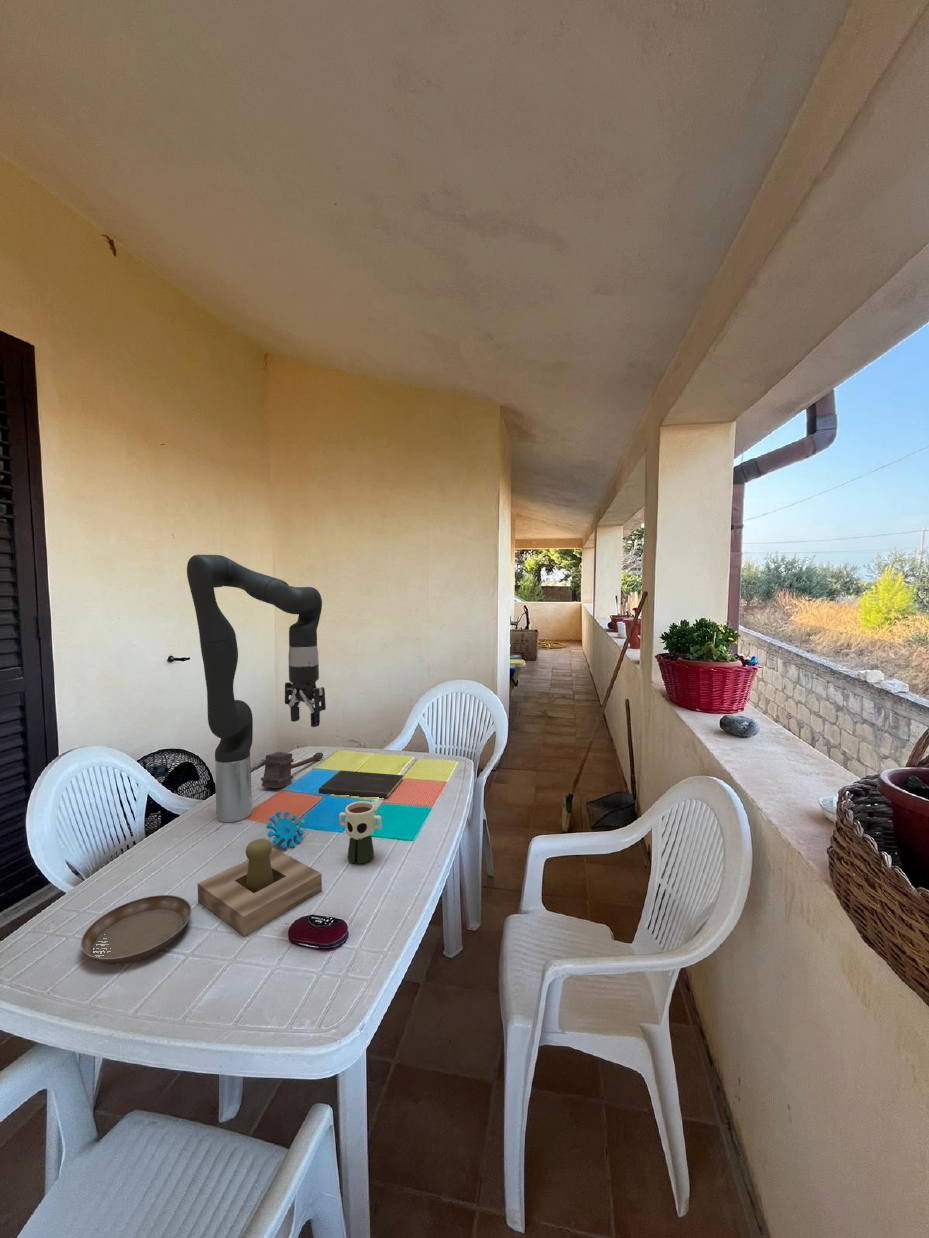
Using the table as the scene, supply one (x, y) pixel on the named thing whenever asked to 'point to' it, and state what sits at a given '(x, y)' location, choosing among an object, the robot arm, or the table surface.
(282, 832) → the gear
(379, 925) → the table surface
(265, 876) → the olive knobbed peg
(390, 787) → the hardcover book
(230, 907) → the socket block
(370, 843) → the character mug
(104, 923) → the plant saucer
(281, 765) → the hammer
